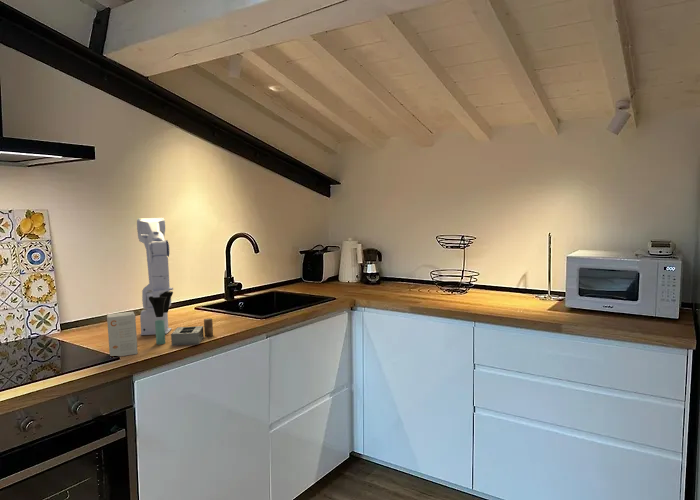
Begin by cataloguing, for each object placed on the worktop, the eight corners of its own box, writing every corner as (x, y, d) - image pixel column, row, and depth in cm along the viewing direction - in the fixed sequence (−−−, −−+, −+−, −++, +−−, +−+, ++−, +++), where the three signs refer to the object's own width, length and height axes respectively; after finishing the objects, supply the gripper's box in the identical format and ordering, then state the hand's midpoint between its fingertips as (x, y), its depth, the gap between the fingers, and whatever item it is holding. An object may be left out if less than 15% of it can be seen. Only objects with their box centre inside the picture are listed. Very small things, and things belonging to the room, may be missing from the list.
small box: (135, 349, 167) (133, 311, 166) (137, 354, 161) (135, 314, 160) (109, 353, 163) (106, 313, 162) (110, 358, 157) (107, 317, 156)
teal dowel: (155, 344, 172) (154, 321, 172) (157, 342, 175) (156, 320, 175) (164, 344, 173) (163, 321, 172) (166, 342, 176) (165, 319, 175)
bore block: (171, 345, 171) (171, 334, 170) (178, 338, 180) (177, 327, 180) (198, 344, 172) (198, 332, 171) (203, 337, 182) (203, 326, 181)
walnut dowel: (203, 336, 182) (203, 320, 182) (205, 334, 185) (204, 318, 185) (212, 336, 182) (211, 320, 182) (213, 334, 185) (212, 318, 185)
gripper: (167, 277, 166) (169, 318, 167) (176, 272, 180) (178, 310, 182) (145, 278, 165) (147, 319, 166) (156, 273, 180) (158, 311, 181)
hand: (162, 314), depth 174 cm, fingers open, 7 cm apart
